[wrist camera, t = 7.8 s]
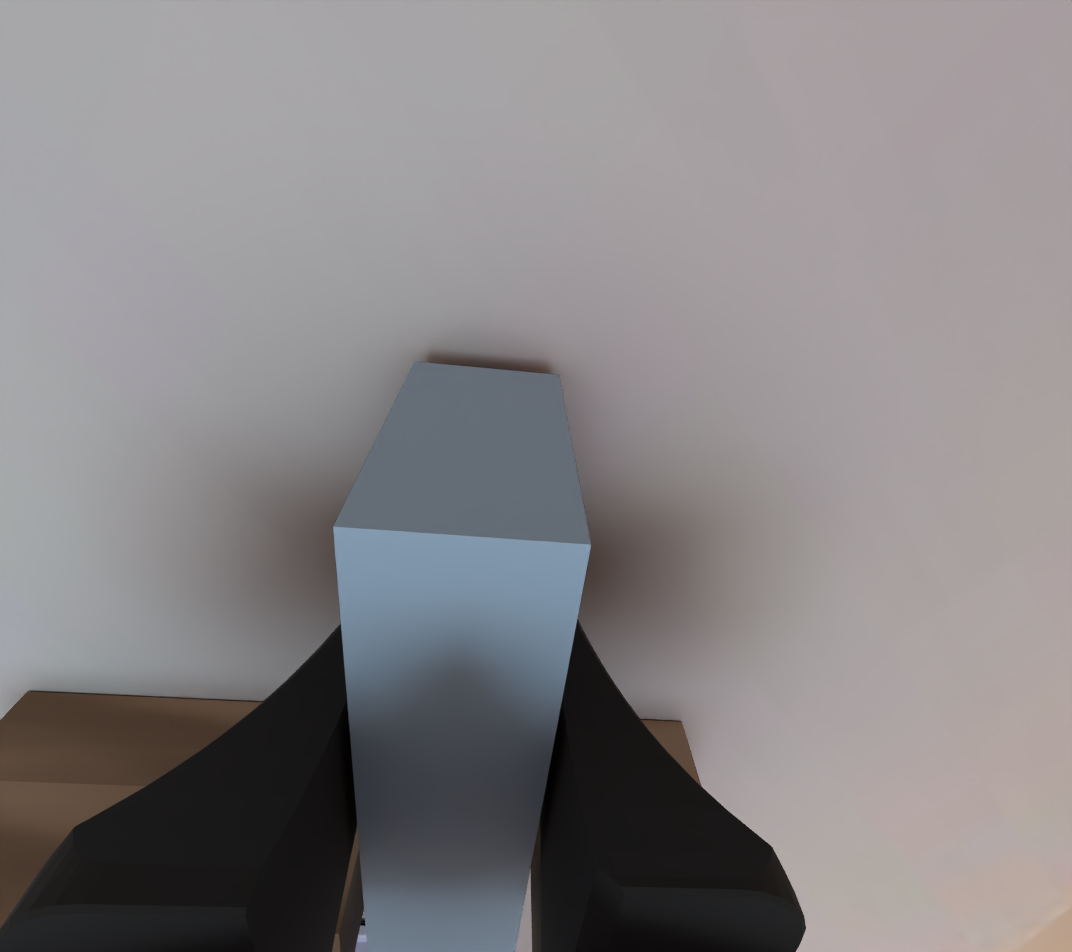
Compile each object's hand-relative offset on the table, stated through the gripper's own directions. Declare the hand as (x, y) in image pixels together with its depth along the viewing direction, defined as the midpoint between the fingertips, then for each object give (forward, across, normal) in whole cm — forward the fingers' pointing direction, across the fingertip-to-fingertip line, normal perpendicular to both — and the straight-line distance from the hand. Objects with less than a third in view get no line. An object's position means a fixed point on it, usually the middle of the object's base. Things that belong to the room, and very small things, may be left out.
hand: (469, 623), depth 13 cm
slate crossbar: (+2, 0, +4) cm, 4 cm away
